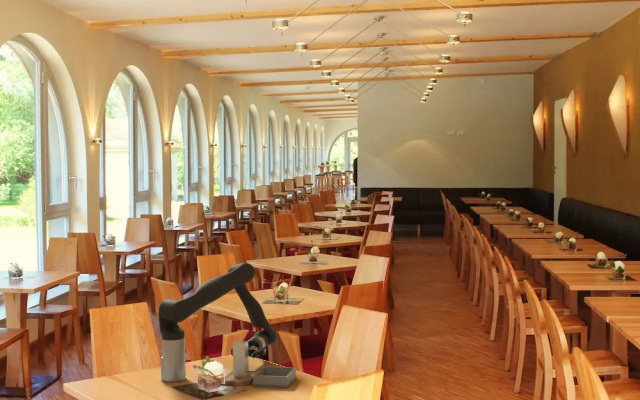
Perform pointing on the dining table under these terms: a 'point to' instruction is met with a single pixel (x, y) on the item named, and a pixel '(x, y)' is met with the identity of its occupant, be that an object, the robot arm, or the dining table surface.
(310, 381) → the dining table surface
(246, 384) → the stud block
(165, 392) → the dining table surface
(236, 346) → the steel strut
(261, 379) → the grey tray
